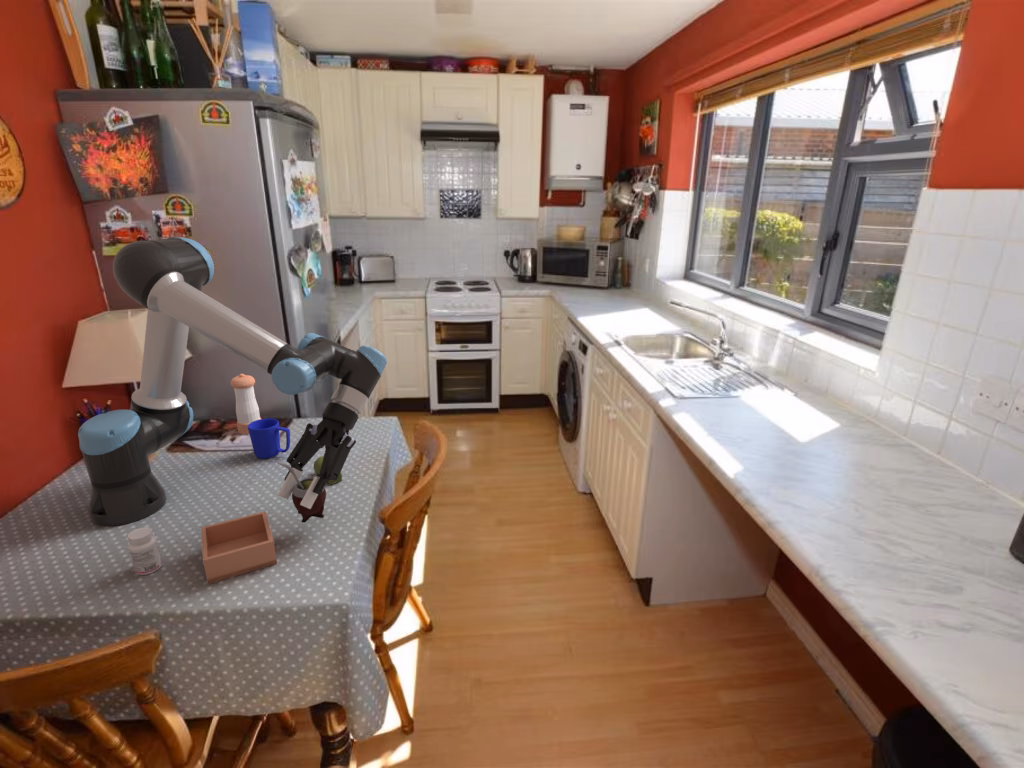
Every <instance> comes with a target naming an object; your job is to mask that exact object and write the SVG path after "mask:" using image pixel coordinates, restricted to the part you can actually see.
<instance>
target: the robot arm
mask: <svg viewBox="0 0 1024 768" xmlns="http://www.w3.org/2000/svg"><path fill="white" fill-rule="evenodd" d="M112 273H113V278H114V279H115V281H116V283H117V285H118V286H119V288H120V289H121V290H122V291H123V293H125V294H126V295H127V296H128V297H129V298H131V299H132V300H134V301H135V302H136V303H137V304H139V305H140V306H143V307H144V308H146V309H147V314H146V324H145V332H144V333H145V334H144V335H145V336H144V343H143V344H144V345H143V354H142V361H141V362H142V363H141V365H142V366H141V374H140V385H139V388H138V389H136V390H134V391H133V392H132V393H131V400H130V408H129V409H115V410H110V411H107V412H106V413H103V412H102V413H100V414H97V415H95V416H92V417H90V418H89V419H87V420H85V422H83V423H82V424H81V426H80V427H79V429H78V432H77V436H78V441H79V443H78V444H79V445H78V446H79V447H78V448H79V450H80V451H81V454H82V458H83V461H84V464H85V468H86V471H87V474H88V478H89V480H90V485H91V493H90V499H89V505H88V512H89V513H88V514H89V516H90V519H91V522H93V524H96V525H99V526H104V527H105V526H106V527H107V526H109V527H110V526H119V525H125V524H129V523H134V522H136V521H139V520H143V519H145V518H146V517H149V516H151V515H153V514H155V513H156V512H158V511H159V510H160V509H161V508H163V507H164V505H165V504H166V502H167V495H166V491H165V489H164V487H163V486H162V485H161V483H160V482H159V480H158V479H157V478H156V476H155V475H154V474H153V471H152V468H151V464H150V460H149V457H150V456H151V455H153V454H154V453H155V452H157V451H159V450H160V449H162V448H164V447H166V446H167V445H169V444H171V443H172V442H174V441H176V440H178V439H179V438H181V437H182V436H183V435H185V433H186V432H188V431H189V429H190V428H191V426H192V425H193V421H194V411H193V408H192V406H190V403H189V401H188V400H187V399H188V398H187V396H186V394H184V393H183V392H182V383H183V376H184V368H185V362H186V361H185V360H186V353H187V345H188V337H189V331H190V329H192V330H194V331H196V332H197V333H199V334H200V335H202V336H204V337H206V338H208V339H209V340H210V341H213V342H214V343H216V344H218V345H219V346H221V347H222V348H225V349H226V350H228V351H229V352H232V353H233V354H235V355H236V356H238V357H240V358H241V359H244V360H245V361H247V362H248V363H250V364H252V365H253V366H256V367H257V368H259V369H260V370H262V371H263V372H266V373H268V374H269V375H271V380H272V383H273V385H274V386H275V388H276V389H277V390H278V391H279V392H281V393H283V394H285V395H290V396H291V395H292V396H293V395H294V396H295V395H298V394H300V393H301V394H302V392H304V391H306V390H307V391H308V389H311V387H312V386H314V384H316V383H317V382H318V381H319V380H321V379H322V378H324V377H325V376H326V375H329V376H332V377H334V378H336V379H338V380H340V381H339V383H338V385H337V387H336V389H335V390H334V393H333V394H332V396H331V397H330V402H328V403H327V405H326V407H325V408H324V410H323V413H322V414H321V416H322V419H321V421H320V422H319V423H317V424H312V423H307V425H306V427H305V430H304V432H303V434H302V435H301V437H300V438H299V439H298V441H297V443H296V445H295V446H294V448H293V449H292V450H291V452H290V454H289V455H288V457H287V458H286V462H287V463H288V464H289V466H290V467H292V468H293V470H294V472H295V474H296V476H297V478H298V479H299V480H300V478H301V476H302V474H303V472H304V470H303V468H304V467H305V466H306V464H307V463H308V462H309V461H311V459H312V458H313V457H314V456H315V455H316V454H317V453H318V452H319V450H320V449H323V448H324V447H325V451H324V455H323V456H324V458H323V462H322V466H321V470H320V474H317V473H316V476H314V477H313V481H312V483H311V485H310V487H309V488H308V490H307V492H306V494H305V496H304V498H303V500H302V501H301V503H300V505H302V506H304V507H307V508H309V509H311V507H312V505H313V503H314V502H315V500H316V498H317V496H318V494H319V495H320V494H321V493H322V490H323V489H324V487H325V488H326V485H327V484H328V483H327V482H328V481H330V480H334V481H336V480H337V479H338V477H339V475H340V472H341V473H342V470H343V467H344V466H345V463H346V461H347V458H348V457H349V454H350V452H351V450H352V448H353V447H354V446H355V445H356V443H357V440H356V439H354V438H353V437H352V436H350V431H351V430H353V429H354V427H355V426H356V424H357V421H358V419H359V414H360V415H361V414H362V411H363V410H364V408H365V406H366V404H367V403H368V401H369V399H370V396H371V395H372V393H373V391H374V389H375V388H376V386H377V384H378V382H379V381H380V379H381V377H382V374H383V372H384V369H385V368H386V366H387V363H388V360H387V357H386V356H385V354H383V352H381V351H379V350H378V349H376V348H374V347H372V346H368V345H361V346H359V347H358V349H357V350H354V349H351V348H348V347H346V346H345V345H342V344H339V342H338V343H337V342H335V341H333V340H331V339H329V338H327V336H324V335H320V334H317V333H314V332H309V333H306V334H305V335H304V336H303V338H301V340H300V341H299V343H298V344H297V348H296V347H294V346H293V345H291V344H290V343H288V342H286V341H284V340H282V339H280V338H279V337H278V336H276V335H274V334H272V333H271V332H269V331H268V330H265V329H264V328H262V327H261V326H259V325H257V324H256V323H254V322H252V321H251V320H249V319H247V318H246V317H244V316H243V315H241V314H239V313H238V312H236V311H234V310H233V309H231V308H229V307H228V306H225V305H224V304H222V303H221V302H219V301H218V300H216V299H214V298H212V296H209V295H207V294H205V293H204V292H202V290H203V289H202V288H203V287H204V286H206V285H207V284H208V283H210V282H211V280H212V279H213V277H214V275H215V274H214V273H215V265H214V260H213V259H212V256H211V254H210V253H209V252H208V251H207V249H206V247H204V246H203V245H202V244H201V243H200V242H198V241H196V240H194V239H191V238H188V237H177V236H175V237H174V236H170V237H167V238H158V239H157V238H156V239H151V240H138V241H132V242H130V243H127V244H126V245H124V246H122V247H121V248H120V249H119V250H118V251H117V252H116V254H115V256H114V257H113V262H112ZM333 473H334V474H333ZM296 484H297V481H296V480H295V478H294V476H293V475H292V473H291V472H290V471H289V470H288V472H287V474H286V475H285V477H284V482H283V484H282V485H281V487H280V489H279V491H278V493H277V496H279V497H281V498H282V499H286V500H289V499H290V497H291V496H292V491H293V489H294V487H295V485H296Z"/></svg>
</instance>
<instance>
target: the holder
mask: <svg viewBox="0 0 1024 768" xmlns="http://www.w3.org/2000/svg"><path fill="white" fill-rule="evenodd" d="M200 530H201V531H200V532H201V547H202V548H201V549H202V550H201V551H202V562H203V568H204V573H205V576H206V582H207V585H211V584H213V583H217V582H219V581H222V580H223V581H224V580H227V579H230V578H233V577H236V576H240V575H243V574H247V573H251V572H254V571H257V570H260V569H265V568H267V567H270V566H275V565H277V564H278V561H277V554H276V553H277V552H276V547H275V541H274V538H273V534H272V529H271V526H270V522H269V519H268V514H267V512H266V510H265V511H260V512H257V513H253V514H249V515H245V516H241V517H237V518H233V519H228V520H224V521H221V522H215V523H212V524H209V525H204V526H202V527H200Z"/></svg>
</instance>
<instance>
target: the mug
mask: <svg viewBox="0 0 1024 768" xmlns="http://www.w3.org/2000/svg"><path fill="white" fill-rule="evenodd" d="M248 431H249V434H248V435H249V438H250V441H251V445H252V449H253V454H254V455H255V457H256V458H257V459H260V460H261V459H262V460H266V459H268V460H269V459H271V458H274V457H277V456H278V455H279V454H280V453H286V452H288V450H289V449H290V446H291V429H290V428H288V427H283V426H280V421H279V420H277V418H261V419H260V420H256V421H253V422H251V423H250V424H249V425H248ZM280 431H282V432H285V434H286V437H285V438H286V441H285V442H286V445H285V446H286V447H285V449H282V448H281V439H280V438H281V436H280V434H281V433H280Z"/></svg>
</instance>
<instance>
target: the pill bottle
mask: <svg viewBox="0 0 1024 768" xmlns="http://www.w3.org/2000/svg"><path fill="white" fill-rule="evenodd" d="M127 540H128V541H127V542H128V545H127V546H128V547H127V548H128V553H129V556H130V559H131V564H132V567H133V570H134V573H135V575H141V576H143V575H144V576H146V575H149V574H152V573H154V572H156V571H158V570H159V569H160V568H161V567H162V565H163V560H162V556H161V552H160V548H159V545H158V541H157V537H156V536H155V535H154V533H153V530H152V529H151V527H147V526H146V527H139V528H136V529H134V530H132V531H131V532H129V533H128V534H127Z"/></svg>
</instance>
